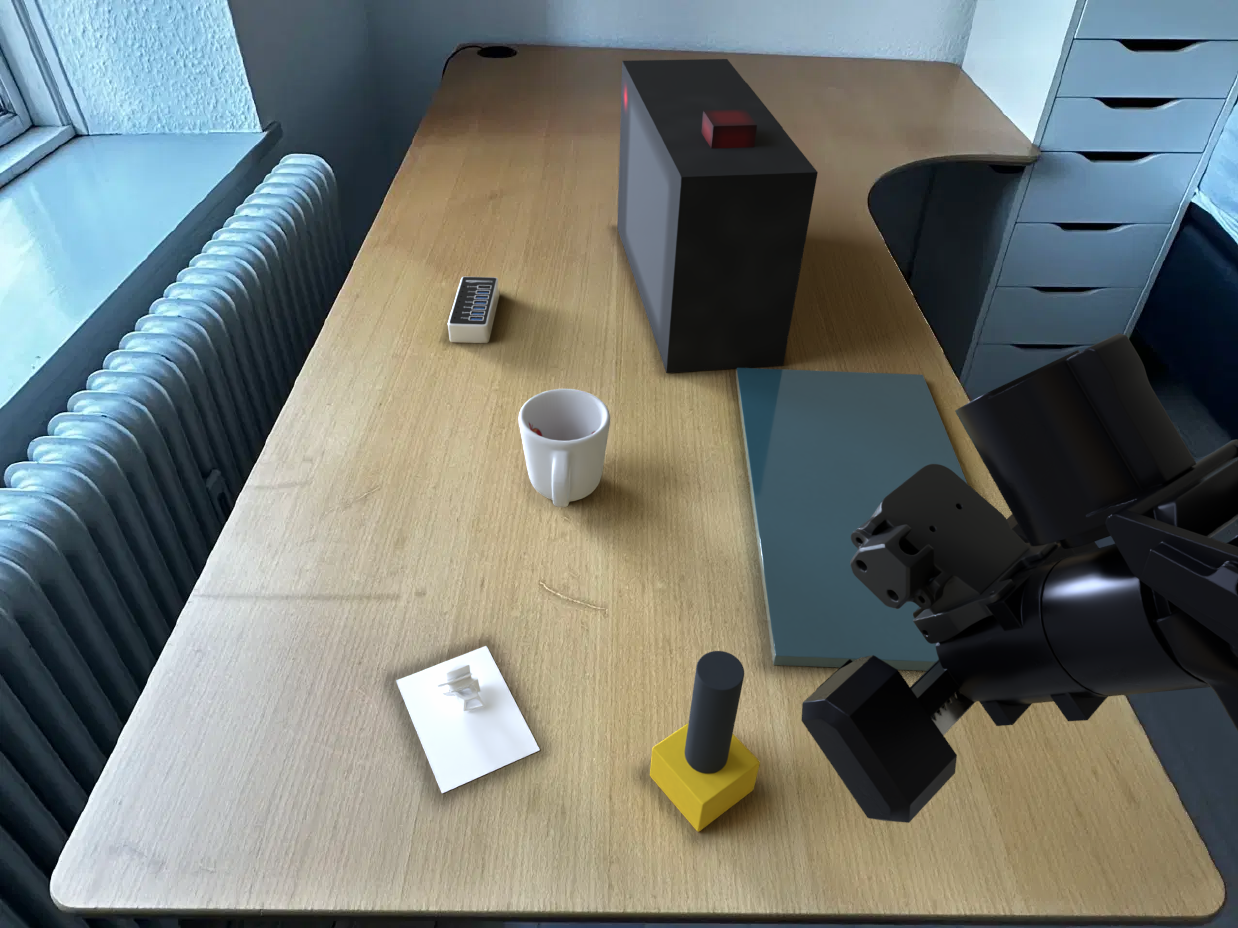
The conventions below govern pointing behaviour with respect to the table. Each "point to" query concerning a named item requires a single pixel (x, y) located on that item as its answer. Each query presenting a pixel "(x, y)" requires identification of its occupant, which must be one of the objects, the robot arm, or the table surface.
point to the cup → (564, 443)
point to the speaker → (710, 213)
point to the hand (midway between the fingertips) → (868, 664)
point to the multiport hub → (474, 310)
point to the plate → (833, 504)
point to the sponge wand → (707, 747)
